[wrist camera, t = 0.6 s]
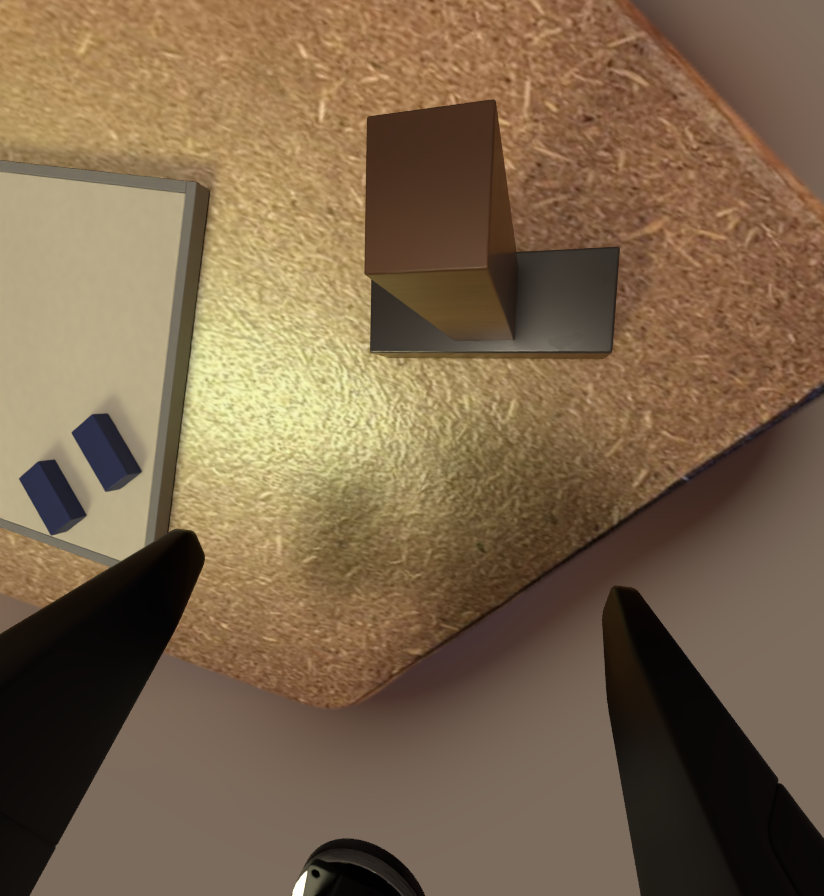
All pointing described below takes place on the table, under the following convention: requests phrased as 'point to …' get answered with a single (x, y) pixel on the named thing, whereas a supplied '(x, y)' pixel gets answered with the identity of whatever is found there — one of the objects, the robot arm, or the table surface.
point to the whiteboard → (95, 341)
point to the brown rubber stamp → (469, 250)
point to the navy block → (52, 496)
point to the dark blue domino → (106, 452)
